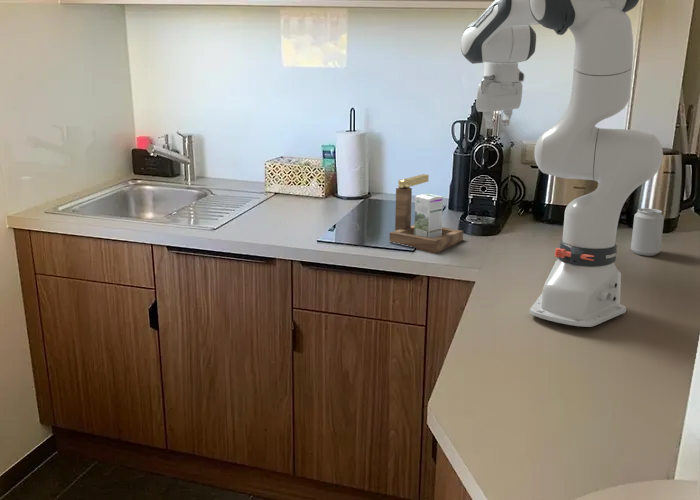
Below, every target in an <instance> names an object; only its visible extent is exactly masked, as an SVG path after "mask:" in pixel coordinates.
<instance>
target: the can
mask: <svg viewBox="0 0 700 500" xmlns="http://www.w3.org/2000/svg"><path fill="white" fill-rule="evenodd" d="M662 213H663V211H662V210H661V209H656V208H648V207H647V208H645V207H644V208H642V207H641V208H638V209H637V212H636V213H635V214H634V217H633V224H632V234H631V235H632V236H631V244H630V249H631V251H632V252H633V253H634V254H637V255H640V256H649V257H652V256H656V255H657V254H659V253H661V247H662V239H663V238H662V237H663V232H664V231H663V229H664V221H665V216H664V215H663V214H662Z"/></svg>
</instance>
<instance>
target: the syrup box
mask: <svg viewBox="0 0 700 500" xmlns="http://www.w3.org/2000/svg"><path fill="white" fill-rule="evenodd" d="M414 196H415V198H414V225H415V228H414V235H417V236H423V237H429V238H436V237H439V236H441V235H442V227H443V209H444V208H443V207H444V205H443V204H444V196H440V195H438V194H437V195H436V194H431V193H422V194H419V195H414Z"/></svg>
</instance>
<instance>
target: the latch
mask: <svg viewBox="0 0 700 500" xmlns="http://www.w3.org/2000/svg"><path fill="white" fill-rule="evenodd" d="M424 183H429V174H424V173H422V174H418V175H415V176H411V177H407V178H403V179H398V183H397V184H398V187H397V188H412V187H414V186H417V185H421V184H424Z"/></svg>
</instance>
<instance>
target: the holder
mask: <svg viewBox="0 0 700 500" xmlns="http://www.w3.org/2000/svg"><path fill="white" fill-rule="evenodd" d="M412 190H413V188H412V187H410V188H399V187H397V188H395V217H394V218H395V219H394V220H395V223H394V226H395V227H394V229H395V230H393V231H391V232H390V231H389V238H388V239H389V241H391V242H395V243H400V244H404V245H408V246H412V247H416V249H415V250H419V251H423V252H429V253H431V254H437V253H439V252H441V251H444V250H446V249H447V248H449V247H451V246H453V245H456V244H457V243H459V242H461V241H463V240H464V230H460V229H454V228H448V227H443V226H442V235H441V236H439V237H436V238H429V237H423V236H417V235H414V228H415V224H412V193H413V192H412Z"/></svg>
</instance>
